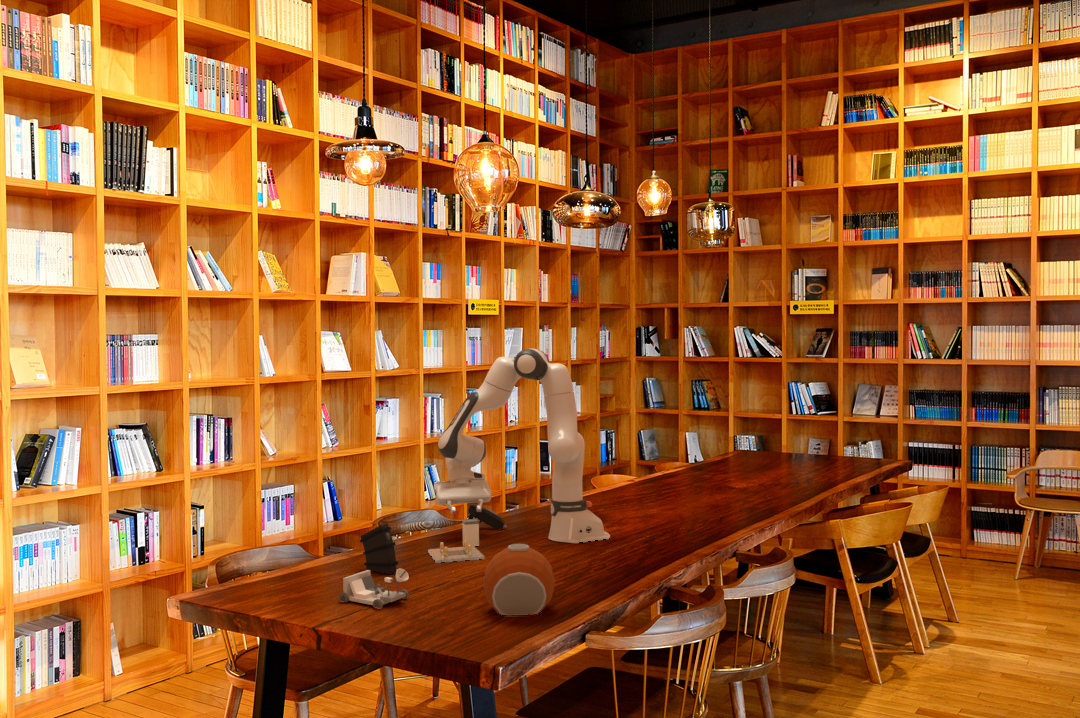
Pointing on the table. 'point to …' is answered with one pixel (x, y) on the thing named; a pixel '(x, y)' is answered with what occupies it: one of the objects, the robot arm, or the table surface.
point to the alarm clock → (518, 581)
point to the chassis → (455, 553)
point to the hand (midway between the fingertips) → (466, 511)
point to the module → (471, 531)
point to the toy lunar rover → (372, 589)
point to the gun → (487, 517)
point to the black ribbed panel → (379, 550)
